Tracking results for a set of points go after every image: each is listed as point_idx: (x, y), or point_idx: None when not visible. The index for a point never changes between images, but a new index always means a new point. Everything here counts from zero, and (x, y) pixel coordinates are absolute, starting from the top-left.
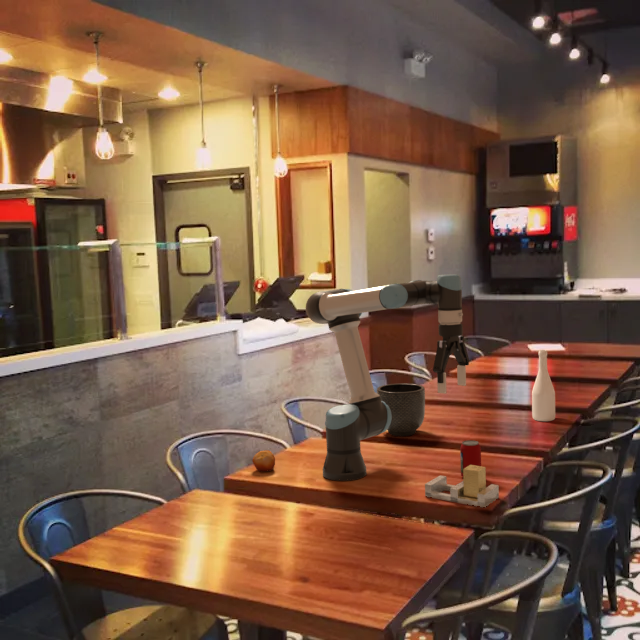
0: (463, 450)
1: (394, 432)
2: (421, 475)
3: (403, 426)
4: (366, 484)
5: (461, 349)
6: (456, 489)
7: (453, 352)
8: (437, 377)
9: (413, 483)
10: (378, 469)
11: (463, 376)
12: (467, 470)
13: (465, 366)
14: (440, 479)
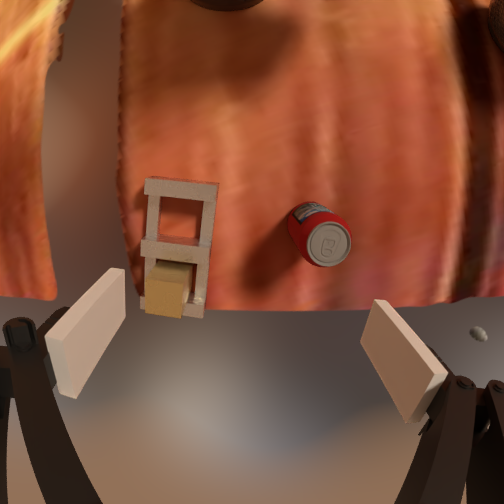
0: (301, 228)
1: (489, 20)
2: (284, 114)
3: (498, 33)
4: (181, 35)
5: (484, 501)
6: (141, 253)
7: (416, 502)
8: (41, 326)
9: (223, 118)
10: (289, 18)
11: (382, 367)
12: (145, 288)
13: (416, 418)
14: (188, 197)
